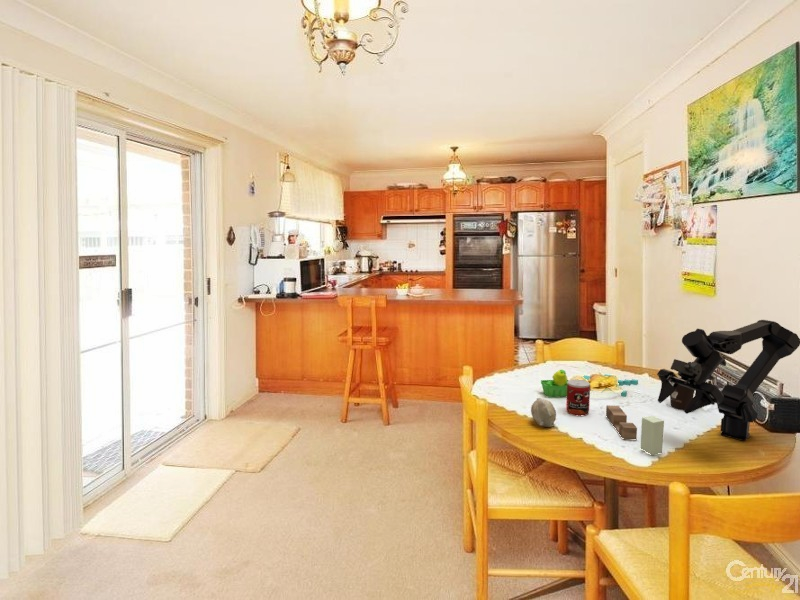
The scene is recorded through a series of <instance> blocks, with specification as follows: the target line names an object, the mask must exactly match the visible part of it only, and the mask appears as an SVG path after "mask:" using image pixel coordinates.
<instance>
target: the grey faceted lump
mask: <svg viewBox="0 0 800 600" xmlns="http://www.w3.org/2000/svg"><path fill="white" fill-rule="evenodd" d="M530 413H531V416H532V419H534V421H535V423H536V424H537V425H538V426H540V427H546V428H550V427H551V428H552V427H553V426H556V424H555V422H556V419H557V418H556V417H557V411H556V409H555V407H554V404H553V403H552V402H551V401H550V400H548V399H545V398H540V397H537V398H536V400H535V401H533V403H532V405H531V407H530Z"/></svg>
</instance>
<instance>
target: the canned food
mask: <svg viewBox="0 0 800 600" xmlns="http://www.w3.org/2000/svg"><path fill="white" fill-rule="evenodd" d="M579 379H580V378H579ZM579 379H577V378H576V379H575V378H574V379H568V380H569V381H568V382H567V397H566V412H567V413H568V414H570V415H572V416H576V415H578V416H577V417H582V416H581V415H584V416H587V415H588V414H589V412H590V397H591V390H590V383H589V382H587V381H585V380H579ZM586 414H587V415H586Z"/></svg>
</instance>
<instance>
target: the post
mask: <svg viewBox="0 0 800 600" xmlns="http://www.w3.org/2000/svg"><path fill="white" fill-rule="evenodd" d="M664 430H665V420H663V419H662V418H658V417H656V416H654V415H651V416H644V417H642V418H641V430H640V431H641V432H640V434H641V435H640V448H641V449H643V450H645V451H646V452H648V453H650V454H651V455H652V456H654V455H653V454H657V455H659V454H658V453H662V454H663V448H664V445H663V444H664V432H665V431H664ZM651 455H650V456H651Z"/></svg>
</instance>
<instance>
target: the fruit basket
mask: <svg viewBox="0 0 800 600" xmlns="http://www.w3.org/2000/svg"><path fill="white" fill-rule="evenodd" d="M569 380H570V379H568V376H567V373H566V370H564V369H559V370H558V371H555V373H553V375H552V379H546V380H545V379H544V380H543V379H542V380H540V384H541V386H542V392H543V394H545V396H546V397H548V398H563V397H562V396H567V382H568V381H569Z"/></svg>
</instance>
